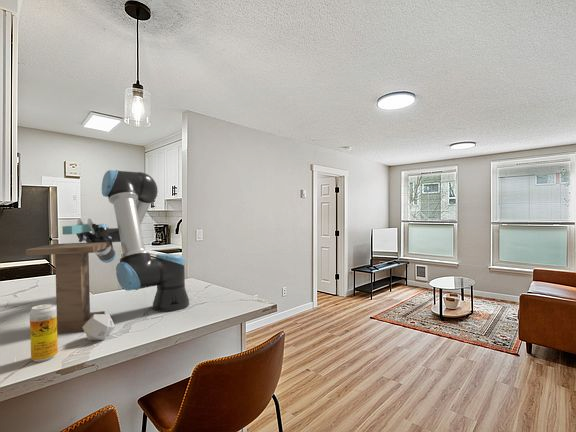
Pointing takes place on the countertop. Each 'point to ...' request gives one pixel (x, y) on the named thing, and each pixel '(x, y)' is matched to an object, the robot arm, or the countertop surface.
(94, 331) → the die
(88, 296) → the walnut pedestal
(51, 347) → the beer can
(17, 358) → the countertop surface
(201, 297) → the countertop surface
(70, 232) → the teal bar
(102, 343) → the countertop surface
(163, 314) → the countertop surface
